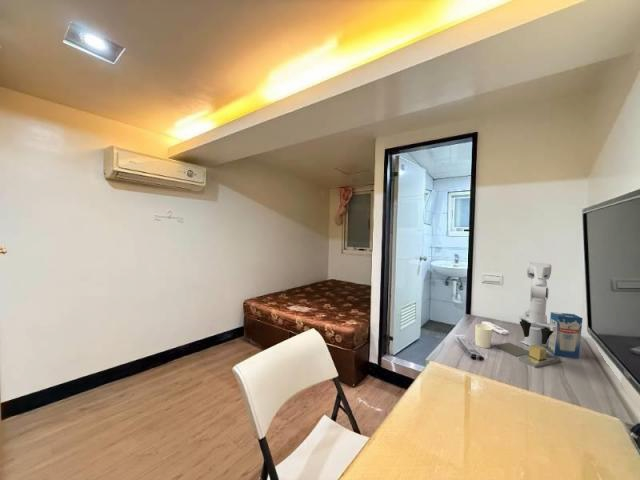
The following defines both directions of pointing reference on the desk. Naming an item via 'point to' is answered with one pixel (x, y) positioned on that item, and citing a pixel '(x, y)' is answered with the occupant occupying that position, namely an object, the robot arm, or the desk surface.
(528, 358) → the grey plate with hole
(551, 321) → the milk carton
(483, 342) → the white cup
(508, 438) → the desk surface
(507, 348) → the mat
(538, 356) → the brass rectangular block
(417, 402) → the desk surface
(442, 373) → the desk surface
